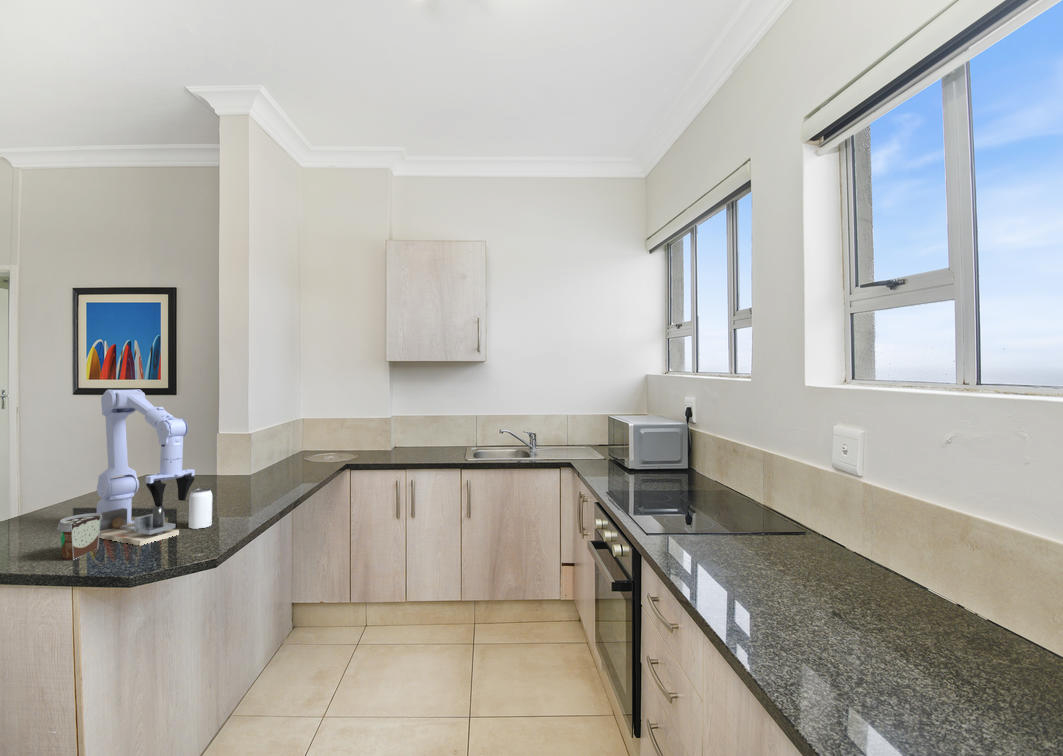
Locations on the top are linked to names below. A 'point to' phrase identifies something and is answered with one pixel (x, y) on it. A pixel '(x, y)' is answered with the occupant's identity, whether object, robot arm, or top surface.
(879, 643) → the top surface
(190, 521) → the can
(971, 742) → the top surface
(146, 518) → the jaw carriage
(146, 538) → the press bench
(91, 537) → the food container
